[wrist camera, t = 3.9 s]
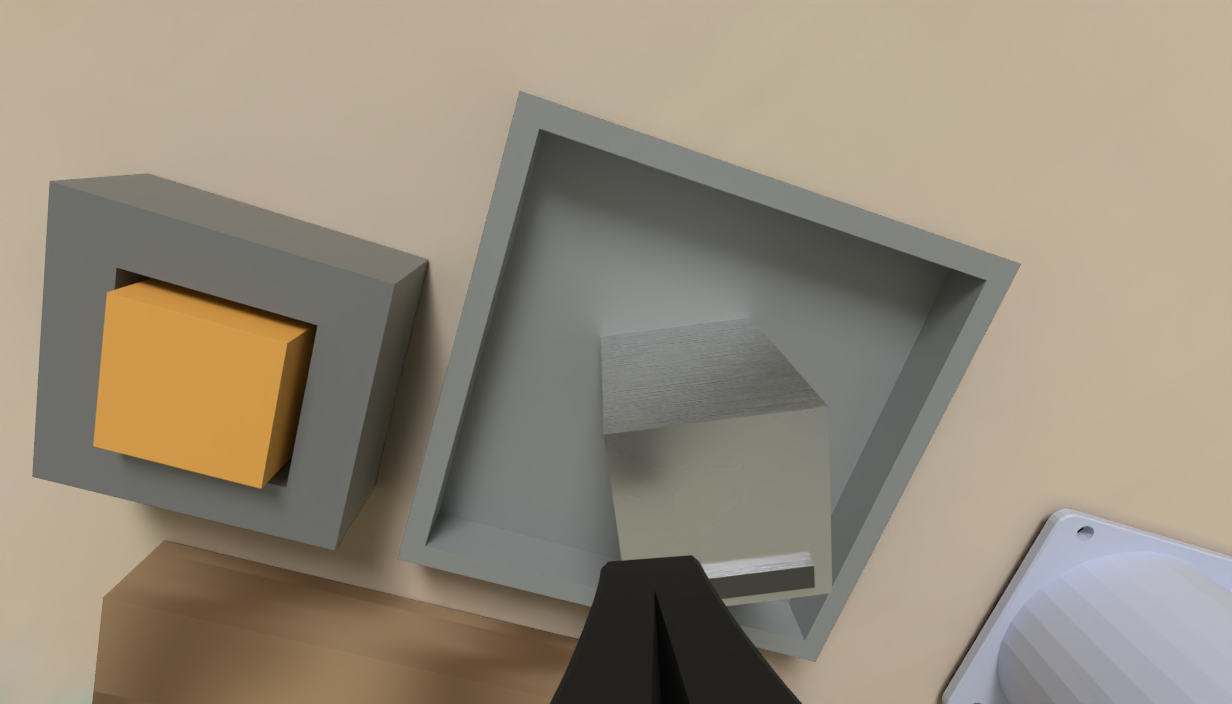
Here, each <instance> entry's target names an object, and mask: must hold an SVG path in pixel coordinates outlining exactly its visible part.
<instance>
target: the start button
mask: <svg viewBox="0 0 1232 704" xmlns="http://www.w3.org/2000/svg"><path fill="white" fill-rule="evenodd" d="M317 326H318V325H315V324H312V323H308V322H305V321H301V320H298V319H294V318H291V317H287V316H284V315H280V314H277V313H273V312H270V311H266V310H263V309H259V308H256V307H252V306H249V305H245V304H242V303H238V302H235V301H231V300H228V299H224V298H221V297H217V296H214V295H210V294H207V293H203V292H200V291H196V290H193V289H190V288H186V287H183V286H179V285H176V284H172V283H169V282H165V281H162V280H158V279H155V278H151V279H148V280H145V281H142V282H138V283H135V284H132V285H129V286H126V287H122V288H119V289H116V290H113V291H110V292H107V297H106V308H105V320H104V331H103V342H102V353H101V364H100V376H99V387H98V398H97V409H96V420H95V432H94V443H93V446H94V447H98V448H102V449H106V450H110V451H114V452H118V453H122V454H126V455H130V456H134V457H138V458H142V459H146V460H150V461H154V462H158V463H161V464H165V465H169V466H173V467H177V468H181V469H185V470H189V471H193V472H197V473H201V474H205V475H209V476H213V477H217V478H221V479H225V480H229V481H233V482H237V483H241V484H245V485H249V486H252V487H256V488H260V489H261V488H262V487H263V486H264V485H265V484H266V483H267V482H268V481H269V480H270V479H271V478H272V477H273V476H274V475H275V474H276V473H277V472H278V471H279V470H280V468H281V467H282V466H283V465H284V464H285V463H286V462H287V461H288V460H289V459H290V458H291V457H292V456H293V451H294V445H295V440H296V435H297V430H298V425H299V419H300V414H301V409H302V404H303V399H304V393H305V388H306V383H307V378H308V373H309V367H310V362H311V357H312V352H313V347H314V342H315V336H316V331H317Z"/></svg>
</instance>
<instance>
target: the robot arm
mask: <svg viewBox="0 0 1232 704" xmlns="http://www.w3.org/2000/svg"><path fill="white" fill-rule="evenodd" d="M1082 527H1084V528H1083V529H1082V530H1081V531H1080V532H1078V533H1077V531H1078V530H1079V529H1080V528H1082ZM942 703H943V704H1232V556H1229V555H1225V554H1222V553H1219V552H1215V551H1212V550H1208V549H1205V548H1202V547H1198V546H1195V545H1191V544H1188V543H1185V542H1181V541H1178V540H1174V539H1171V538H1168V537H1164V536H1161V535H1157V534H1154V533H1151V532H1147V531H1144V530H1140V529H1137V528H1134V527H1130V526H1127V525H1123V524H1120V523H1117V522H1113V521H1110V520H1106V519H1103V518H1100V517H1096V516H1093V515H1089V514H1086V513H1083V512H1079V511H1076V510H1072V509H1061V510H1058V511H1056V512H1055V513H1053V514H1052V515H1051V516H1050V517H1049V519H1048V520H1047V522H1046V524H1045V525H1044V527H1043V529H1042V530H1041V532H1040V534H1039V535H1038V537H1037V539H1036V540H1035V542H1034V544H1033V545H1032V547H1031V549H1030V550H1029V552H1028V554H1027V555H1026V557H1025V559H1024V560H1023V562H1022V564H1021V565H1020V567H1019V569H1018V570H1017V572H1016V574H1015V575H1014V577H1013V579H1012V580H1011V582H1010V584H1009V585H1008V587H1007V589H1006V590H1005V592H1004V594H1003V595H1002V597H1001V599H1000V600H999V602H998V604H997V605H996V607H995V609H994V610H993V612H992V614H991V615H990V617H989V619H988V620H987V622H986V624H985V625H984V627H983V629H982V630H981V632H980V633H979V635H978V637H977V638H976V640H975V642H974V643H973V645H972V647H971V648H970V650H969V652H968V653H967V655H966V657H965V658H964V660H963V662H962V663H961V665H960V667H959V668H958V670H957V672H956V673H955V675H954V677H953V678H952V680H951V682H950V683H949V685H948V687H947V688H946V690H945V692H944V693H943V696H942ZM550 704H802V703H801V702H800V701H799V700H798V699H797V697H796V696H795V695H794V694H793V693H792V692H791V691H790V689H789V688H788V687H787V686H786V685H785V683H784V682H783V681H782V680H781V679H780V677H779V676H778V675H777V674H776V672H775V671H774V670H773V669H772V668H771V666H770V665H769V664H768V662H767V661H766V660H765V658H764V657H763V656H762V655H761V653H760V652H759V651H758V649H757V648H756V647H755V645H754V644H753V643H752V641H751V640H750V639H749V638H748V636H747V635H746V634H745V632H744V631H743V630H742V628H741V627H740V625H739V624H738V623H737V621H736V620H735V618H734V617H733V615H732V614H731V613H730V611H729V610H728V608H727V607H726V605H725V604H724V602H723V601H722V599H721V598H720V596H719V594H718V593H717V591H716V590H715V588H714V587H713V585H712V583H711V582H710V580H709V578H708V576H707V575H706V573H705V571H704V569H703V567H702V565H701V563H700V562H699V561H698V560H697V559H696V558H695V557H694V556H692V555H688V556H675V557H661V558H648V559H635V560H622V561H609V562H607V563H606V564H605V565H604V566H603V567H602V568H601V572H600V578H599V582H598V586H597V590H596V594H595V597H594V600H593V603H592V606H591V609H590V612H589V615H588V618H587V620H586V623H585V626H584V629H583V631H582V634H581V636H580V638H579V641H578V643H577V645H576V648H575V650H574V653H573V655H572V657H571V660H570V662H569V664H568V667H567V669H566V671H565V674H564V676H563V678H562V680H561V682H560V684H559V686H558V688H557V690H556V692H555V694H554V696H553V698H552V700H551V702H550Z"/></svg>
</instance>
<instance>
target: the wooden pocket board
mask: <svg viewBox="0 0 1232 704" xmlns="http://www.w3.org/2000/svg"><path fill="white" fill-rule="evenodd" d="M578 641H579V639H575V638H570V637H566V636H562V635H558V634H554V633H550V632H545V631H541V630H537V629H533V628H529V627H524V626H520V625H516V624H512V623H508V622H503V621H499V620H495V619H491V618H487V617H482V616H478V615H474V614H470V613H466V612H461V611H457V610H453V609H449V608H445V607H440V606H436V605H432V604H428V603H424V602H420V601H415V600H411V599H407V598H403V597H399V596H394V595H390V594H386V593H382V592H378V591H373V590H369V589H365V588H361V587H357V586H352V585H348V584H344V583H340V582H336V581H331V580H327V579H323V578H319V577H315V576H311V575H306V574H302V573H298V572H294V571H290V570H285V569H281V568H277V567H273V566H269V565H264V564H260V563H256V562H252V561H248V560H243V559H239V558H235V557H231V556H227V555H222V554H218V553H214V552H210V551H206V550H201V549H197V548H193V547H189V546H185V545H181V544H176V543H172V542H168V541H163V542H162V543H161V544H160V545H159V546H158V547H157V548H156V549H155V550H154V551H152V552H151V553H150V554H149V555H148V556H147V557H146V558H145V559H144V560H143V561H142V562H141V563H140V564H139V565H137V566H136V567H135V568H134V569H133V570H132V571H131V572H130V573H129V574H128V575H127V576H126V577H125V578H124V579H123V580H121V581H120V582H119V583H118V584H117V585H116V586H115V587H114V588H113V589H112V590H111V591H110V592H109V593H108V594H106V595H105V596H104V597H103V605H102V615H101V624H100V634H99V644H98V654H97V663H96V673H95V683H94V693H93V702H92V704H550V702H551V700H552V698H553V696H554V694H555V692H556V690H557V688H558V686H559V684H560V682H561V680H562V678H563V676H564V674H565V671H566V669H567V667H568V664H569V662H570V660H571V657H572V655H573V653H574V650H575V648H576V645H577V643H578Z"/></svg>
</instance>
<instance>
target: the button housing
mask: <svg viewBox="0 0 1232 704" xmlns="http://www.w3.org/2000/svg"><path fill="white" fill-rule="evenodd" d="M427 264H428V259H425V258H421V257H418V256H415V255H412V254H408V253H405V252H402V251H399V250H395V249H392V248H389V247H385V246H382V245H379V244H376V243H372V242H369V241H366V240H363V239H359V238H356V237H353V236H350V235H346V234H343V233H340V232H336V231H333V230H330V229H327V228H323V227H320V226H317V225H314V224H310V223H307V222H304V221H301V220H297V219H294V218H291V217H287V216H284V215H281V214H278V213H274V212H271V211H268V210H265V209H261V208H258V207H255V206H252V205H248V204H245V203H242V202H238V201H235V200H232V199H229V198H225V197H222V196H219V195H216V194H212V193H209V192H206V191H202V190H199V189H196V188H193V187H189V186H186V185H183V184H180V183H176V182H173V181H170V180H167V179H163V178H160V177H157V176H153V175H150V174H135V175H122V176H110V177H97V178H84V179H71V180H58V181H50V187H49V204H48V221H47V238H46V255H45V272H44V289H43V305H42V322H41V339H40V356H39V373H38V390H37V407H36V424H35V441H34V458H33V475H32V477H36V478H40V479H44V480H48V481H52V482H56V483H60V484H64V485H68V486H73V487H77V488H81V489H85V490H89V491H93V492H97V493H101V494H105V495H109V496H113V497H118V498H122V499H126V500H130V501H134V502H138V503H142V504H146V505H150V506H154V507H158V508H163V509H167V510H171V511H175V512H179V513H183V514H187V515H191V516H195V517H199V518H203V519H208V520H212V521H216V522H220V523H224V524H228V525H232V526H236V527H240V528H244V529H249V530H253V531H257V532H261V533H265V534H269V535H273V536H277V537H281V538H285V539H289V540H294V541H298V542H302V543H306V544H310V545H314V546H318V547H322V548H326V549H330V550H334V551H335V549H336V548H337V546H338V545H339V543H340V541H341V540H342V538H343V537H344V535H345V534H346V532H347V530H348V529H349V527H350V526H351V524H352V522H353V521H354V519H355V518H356V516H357V514H358V513H359V511H360V510H361V508H362V507H363V505H364V503H365V502H366V500H367V499H368V497H369V495H370V494H371V492H372V491H373V489H374V486H375V482H376V478H377V474H378V469H379V465H380V461H381V457H382V453H383V448H384V444H385V440H386V436H387V432H388V427H389V423H390V419H391V415H392V411H393V406H394V402H395V398H396V394H397V390H398V386H399V381H400V377H401V373H402V369H403V365H404V360H405V356H406V352H407V348H408V344H409V339H410V335H411V331H412V327H413V323H414V318H415V314H416V310H417V306H418V302H419V297H420V293H421V289H422V285H423V281H424V276H425V272H426V268H427ZM151 278H155V279H158V280H162V281H165V282H169V283H172V284H176V285H179V286H183V287H186V288H190V289H193V290H196V291H200V292H203V293H207V294H210V295H214V296H217V297H221V298H224V299H228V300H231V301H235V302H238V303H242V304H245V305H249V306H252V307H256V308H259V309H263V310H266V311H270V312H273V313H277V314H280V315H284V316H287V317H291V318H294V319H298V320H301V321H305V322H308V323H312V324H315V325H318V326H317V331H316V336H315V342H314V347H313V352H312V357H311V362H310V367H309V373H308V378H307V383H306V388H305V393H304V399H303V404H302V409H301V414H300V419H299V425H298V430H297V435H296V440H295V445H294V451H293V456H292V457H291V458H290V459H289V460H288V461H287V462H286V463H285V464H284V465H283V466H282V467H281V468H280V470H279V471H278V472H277V473H276V474H275V475H274V476H273V477H272V478H271V479H270V480H269V481H268V482H267V483H266V484H265V485H264V486H263V487H262V488H261V489H260V488H256V487H252V486H249V485H245V484H241V483H237V482H233V481H229V480H225V479H221V478H217V477H213V476H209V475H205V474H201V473H197V472H193V471H189V470H185V469H181V468H177V467H173V466H169V465H165V464H161V463H158V462H154V461H150V460H146V459H142V458H138V457H134V456H130V455H126V454H122V453H118V452H114V451H110V450H106V449H102V448H98V447H94V446H93V443H94V432H95V420H96V409H97V398H98V387H99V376H100V364H101V353H102V342H103V331H104V320H105V308H106V297H107V292H110V291H113V290H116V289H119V288H122V287H126V286H129V285H132V284H135V283H138V282H142V281H145V280H148V279H151Z"/></svg>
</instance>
